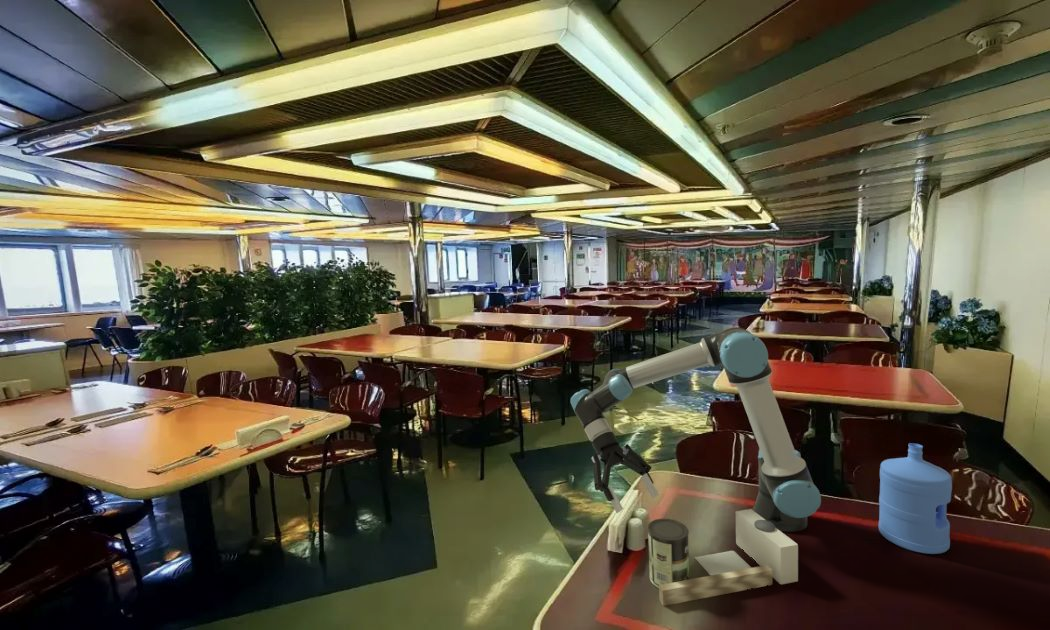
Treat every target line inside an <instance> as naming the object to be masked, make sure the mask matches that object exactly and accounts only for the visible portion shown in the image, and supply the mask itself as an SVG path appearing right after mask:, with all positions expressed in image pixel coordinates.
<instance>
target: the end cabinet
mask: <svg viewBox="0 0 1050 630" xmlns="http://www.w3.org/2000/svg"><path fill="white" fill-rule="evenodd" d="M735 544H736V545H737V546H738V547H739V548H740V549H741V550H742V549H743V550H744V551H743V550H742V551H743V552H745V553H746V554H747V555H748V556H749V558H751V557H752V558H753V559H754V560H755V561H756V563H757V564H758V565H759V566H764V565H767V566H768V567H770V568H771V569H772V579H774V580H775V581H776V582H777V583H778V584H780V585H786V584H791V583H792V584H793V583H795V582H796V583H797V582H799V545H798V543H797V542H795V541H794V540H793V539H792V538H790V537H789V536H787V535H786V534H785V533H783V531H779V530H778V529H777V528H775V525H774V524H773V523H771V522H769V521H766V520H765V519H764V518H762V517H761V516H760V515H758V514H757V513H756V512H754V511H753V508H749V509H743V510H736V511H735ZM752 558H751V559H752ZM694 559H695V561H697V562H698V564H699V565H700V566H701V568H703V569H704V571H705V572H707V574H708V576H711V575H716V574H722V573H727V572H732V571H738V570H743V569H748V568H752V567H751V566H750V565H749V564H748V563H747V562H746V561H745V560H744V559H743V558H742V557H741V556H740V555H739V554H738V553H737V552H736V551H734V550H729V551H723V552H717V553H712V554H706V555H700V556H695V557H694ZM753 559H752V560H753ZM754 560H753V561H754ZM755 561H754V562H755Z"/></svg>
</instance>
